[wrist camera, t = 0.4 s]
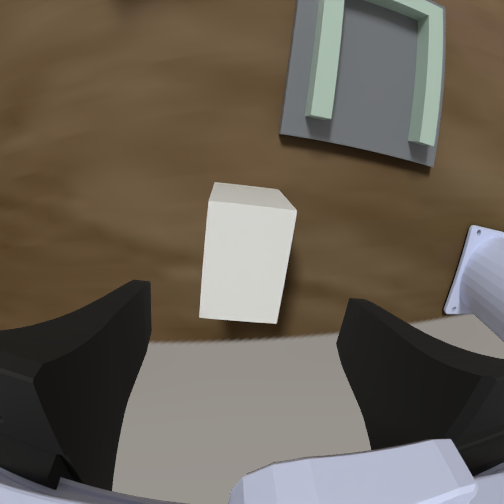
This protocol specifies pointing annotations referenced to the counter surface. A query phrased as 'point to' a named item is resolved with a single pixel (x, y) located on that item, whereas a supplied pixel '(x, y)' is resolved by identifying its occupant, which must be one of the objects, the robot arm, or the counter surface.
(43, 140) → the counter surface
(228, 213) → the block
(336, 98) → the frame
